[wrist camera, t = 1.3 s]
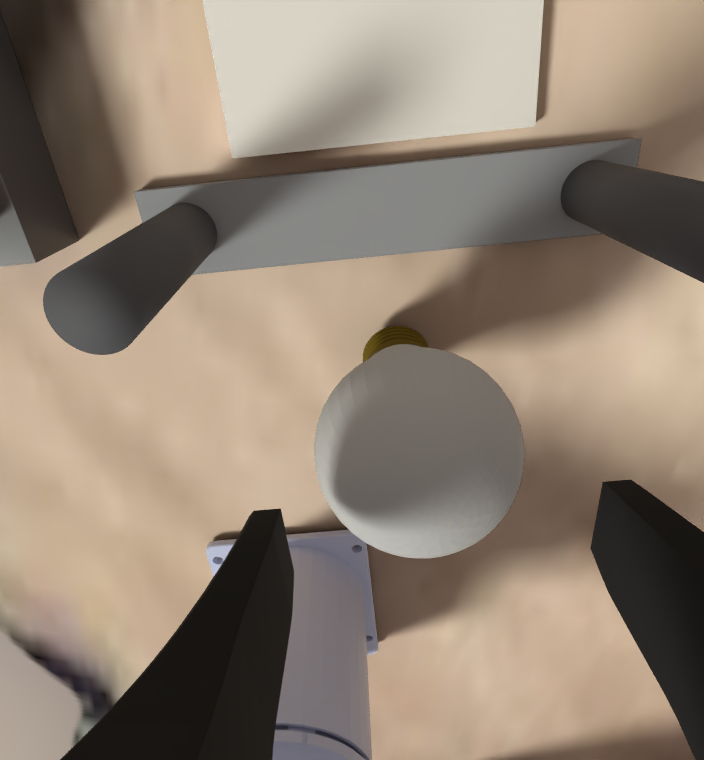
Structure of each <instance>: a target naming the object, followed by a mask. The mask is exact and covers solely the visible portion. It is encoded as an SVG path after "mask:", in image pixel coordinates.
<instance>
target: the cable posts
mask: <svg viewBox="0 0 704 760" xmlns="http://www.w3.org/2000/svg"><path fill="white" fill-rule="evenodd" d="M641 140H642V139H638V138H627V139H617V140H607V141H598V142H588V143H579V144H569V145H560V146H550V147H541V148H531V149H522V150H512V151H503V152H493V153H483V154H474V155H464V156H455V157H445V158H436V159H426V160H417V161H407V162H398V163H388V164H379V165H369V166H360V167H350V168H340V169H331V170H321V171H312V172H302V173H293V174H283V175H274V176H264V177H255V178H245V179H236V180H226V181H216V182H207V183H197V184H188V185H178V186H169V187H159V188H150V189H140V190H138V191H135V192H134V194H135V198H136V201H137V205H138V208H139V212H140V215H141V219H142V222H143V223H142V224H140V225H139V226H137V227H135V228H133V229H132V230H130V231H128V232H127V233H125V234H123V235H122V236H120V237H118V238H117V239H115V240H113V241H111V242H110V243H108V244H106V245H105V246H103V247H101V248H100V249H98V250H96V251H95V252H93V253H91V254H90V255H88V256H86V257H84V258H83V259H81V260H79V261H78V262H76V263H74V264H73V265H71V266H69V267H68V268H66V269H64V270H62V271H61V272H59V273H58V274H56V275H55V276H54V277H53V278H52V279H51V280H50V281H49V283H48V284H47V286H46V288H45V292H44V297H43V306H44V311H45V314H46V317H47V319H48V322H49V323H50V325H51V327H52V328H53V329H54V331H55V332H56V333H57V334H58V335H59V336H60V337H61V338H62V339H63V340H64V341H65V342H67V343H68V344H70V345H71V346H73V347H75V348H77V349H79V350H81V351H84V352H87V353H91V354H98V355H107V354H113V353H116V352H119V351H121V350H123V349H125V348H126V347H128V346H129V345H130V344H131V343H132V342H133V340H134V339H135V338H136V337H137V336H138V335H139V334H140V333H141V331H142V330H143V329H144V328H145V327H146V326H147V325H148V324H149V322H150V321H151V320H152V319H153V318H154V317H155V316H156V314H157V313H158V312H159V311H160V310H161V309H162V308H163V307H164V305H165V304H166V303H167V302H168V301H169V300H170V299H171V298H172V296H173V295H174V294H175V293H176V292H177V291H178V290H179V288H180V287H181V286H182V285H183V284H184V283H185V282H186V281H187V279H188V278H189V277H190V276H191V275H194V274H204V273H214V272H224V271H234V270H244V269H254V268H264V267H274V266H284V265H294V264H304V263H314V262H324V261H334V260H344V259H354V258H364V257H374V256H384V255H394V254H404V253H414V252H424V251H434V250H444V249H454V248H465V247H475V246H485V245H495V244H505V243H515V242H525V241H535V240H545V239H555V238H565V237H575V236H585V235H595V234H605V235H607V236H609V237H611V238H613V239H615V240H617V241H619V242H621V243H623V244H625V245H627V246H629V247H631V248H633V249H635V250H637V251H640V252H642V253H644V254H646V255H648V256H650V257H652V258H654V259H656V260H658V261H660V262H662V263H664V264H666V265H668V266H670V267H672V268H674V269H676V270H678V271H680V272H683V273H685V274H687V275H689V276H691V277H693V278H695V279H697V280H699V281H701V282H703V283H704V182H702V181H697V180H692V179H688V178H683V177H678V176H673V175H669V174H664V173H659V172H654V171H650V170H645V169H640V168H637V165H638V159H639V153H640V146H641Z"/></svg>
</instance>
